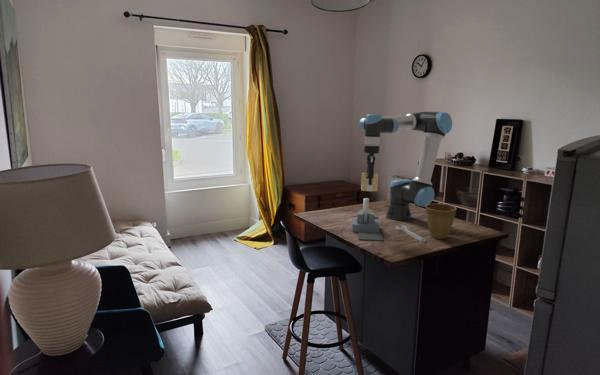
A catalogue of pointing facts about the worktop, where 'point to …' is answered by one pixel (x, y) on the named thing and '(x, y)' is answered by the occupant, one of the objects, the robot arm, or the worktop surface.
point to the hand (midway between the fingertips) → (369, 189)
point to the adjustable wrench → (410, 233)
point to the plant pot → (440, 219)
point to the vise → (365, 220)
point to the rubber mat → (370, 236)
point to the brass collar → (364, 182)
